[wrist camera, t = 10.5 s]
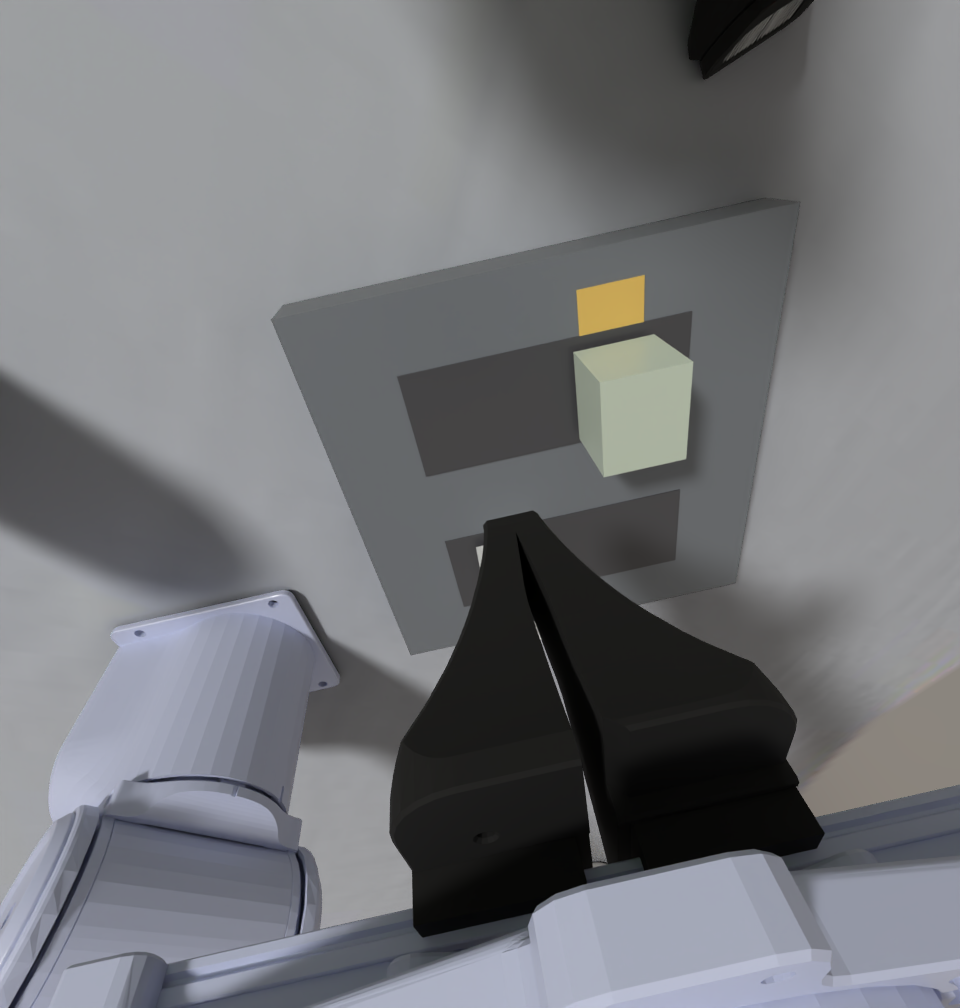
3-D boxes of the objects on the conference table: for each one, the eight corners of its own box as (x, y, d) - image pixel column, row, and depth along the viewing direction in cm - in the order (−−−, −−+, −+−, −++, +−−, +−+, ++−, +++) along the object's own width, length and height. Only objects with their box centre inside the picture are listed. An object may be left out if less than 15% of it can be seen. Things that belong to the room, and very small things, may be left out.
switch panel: (410, 626, 29) (410, 656, 27) (282, 304, 18) (270, 319, 17) (716, 558, 29) (735, 583, 27) (764, 197, 18) (801, 201, 17)
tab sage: (579, 438, 20) (603, 477, 18) (573, 352, 18) (599, 382, 16) (651, 422, 20) (686, 458, 18) (654, 334, 18) (693, 361, 16)
